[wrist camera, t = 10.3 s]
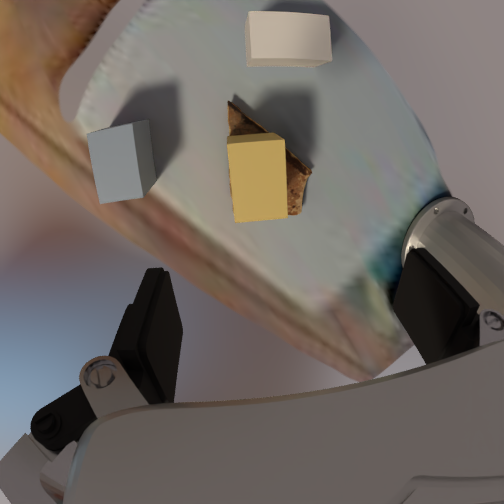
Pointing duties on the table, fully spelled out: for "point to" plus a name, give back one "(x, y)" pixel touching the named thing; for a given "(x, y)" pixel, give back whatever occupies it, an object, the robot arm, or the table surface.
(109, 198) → the slate brick
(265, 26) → the cream brick
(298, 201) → the shard
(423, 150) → the table surface
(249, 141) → the mustard brick
